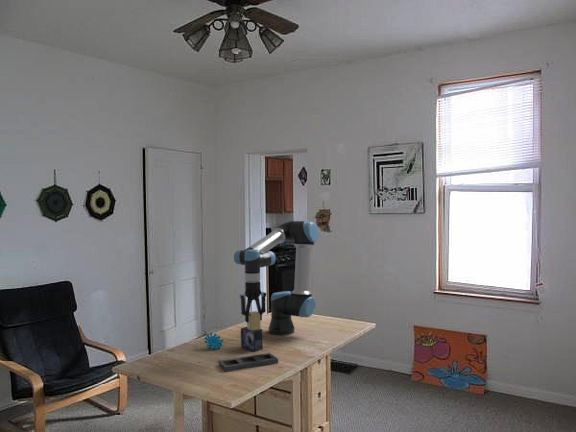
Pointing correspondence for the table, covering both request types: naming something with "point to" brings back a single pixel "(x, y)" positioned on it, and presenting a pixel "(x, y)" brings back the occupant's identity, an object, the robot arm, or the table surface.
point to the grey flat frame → (247, 362)
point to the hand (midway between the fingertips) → (253, 327)
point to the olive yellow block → (254, 320)
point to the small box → (251, 339)
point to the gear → (213, 341)
